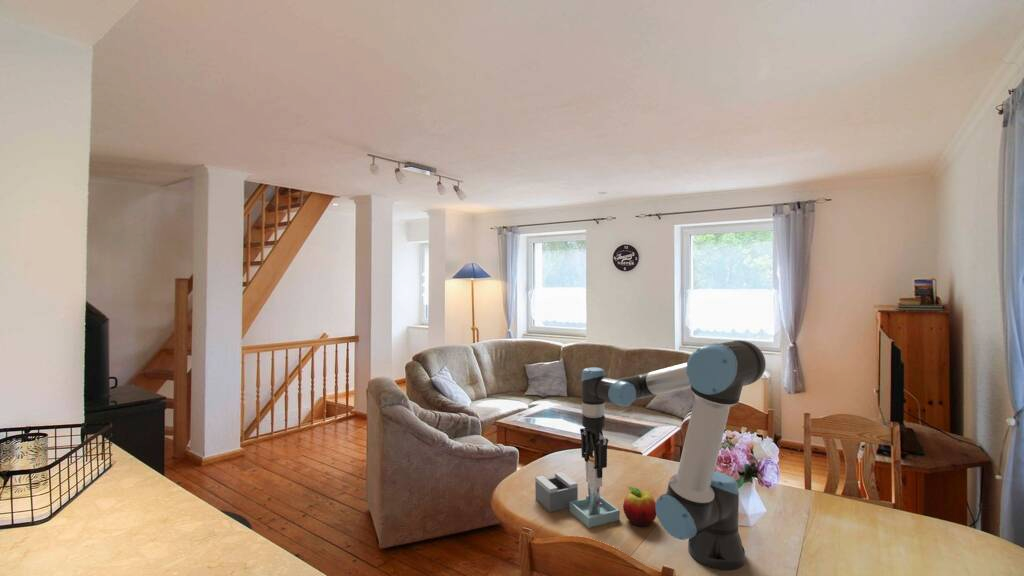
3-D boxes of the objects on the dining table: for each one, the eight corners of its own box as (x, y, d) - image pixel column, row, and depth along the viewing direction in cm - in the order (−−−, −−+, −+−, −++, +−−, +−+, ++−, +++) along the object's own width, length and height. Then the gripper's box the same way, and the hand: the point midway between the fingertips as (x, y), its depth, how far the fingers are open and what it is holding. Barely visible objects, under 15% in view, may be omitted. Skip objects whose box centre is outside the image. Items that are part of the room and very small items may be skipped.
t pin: (605, 514, 159) (605, 460, 158) (595, 517, 157) (594, 462, 157) (593, 504, 166) (593, 452, 165) (583, 507, 164) (583, 454, 163)
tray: (619, 519, 158) (619, 510, 158) (588, 527, 154) (588, 518, 154) (599, 504, 169) (598, 495, 169) (569, 511, 165) (569, 501, 165)
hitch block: (577, 505, 168) (577, 483, 168) (549, 512, 164) (549, 489, 164) (562, 492, 178) (561, 471, 178) (535, 498, 174) (535, 476, 174)
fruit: (637, 533, 150) (637, 501, 150) (616, 517, 160) (616, 487, 160) (664, 525, 155) (664, 494, 155) (641, 510, 165) (641, 481, 164)
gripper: (618, 420, 154) (618, 492, 155) (588, 406, 170) (589, 472, 171) (598, 423, 151) (599, 496, 152) (570, 409, 167) (571, 475, 168)
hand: (594, 483), depth 161 cm, fingers open, 4 cm apart
